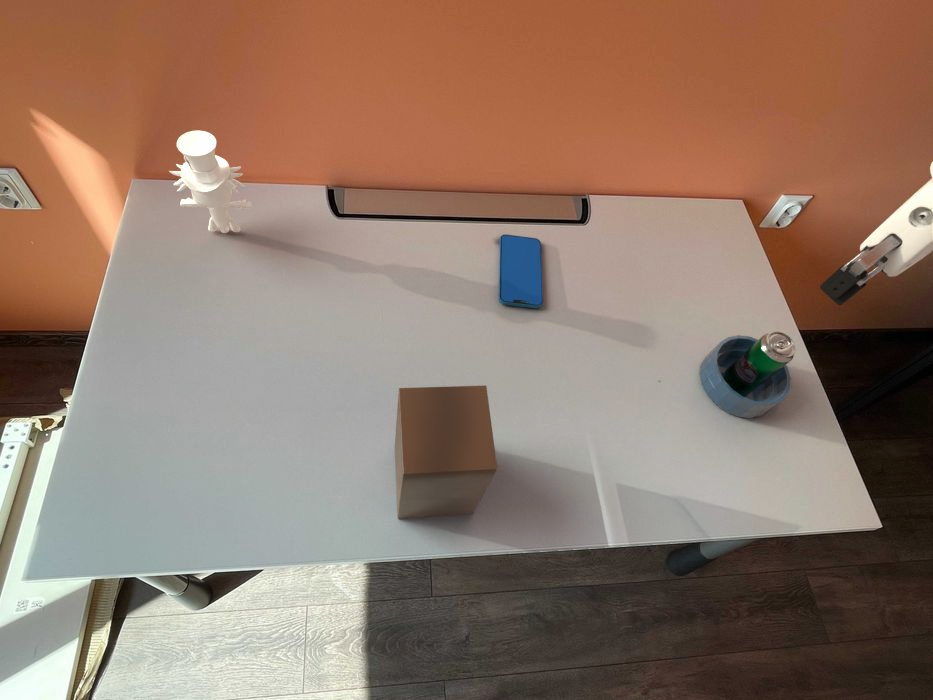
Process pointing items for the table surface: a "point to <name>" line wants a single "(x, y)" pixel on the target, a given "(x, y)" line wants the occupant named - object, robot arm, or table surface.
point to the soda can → (760, 362)
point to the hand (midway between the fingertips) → (854, 279)
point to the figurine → (208, 179)
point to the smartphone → (520, 271)
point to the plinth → (442, 450)
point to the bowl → (725, 395)
